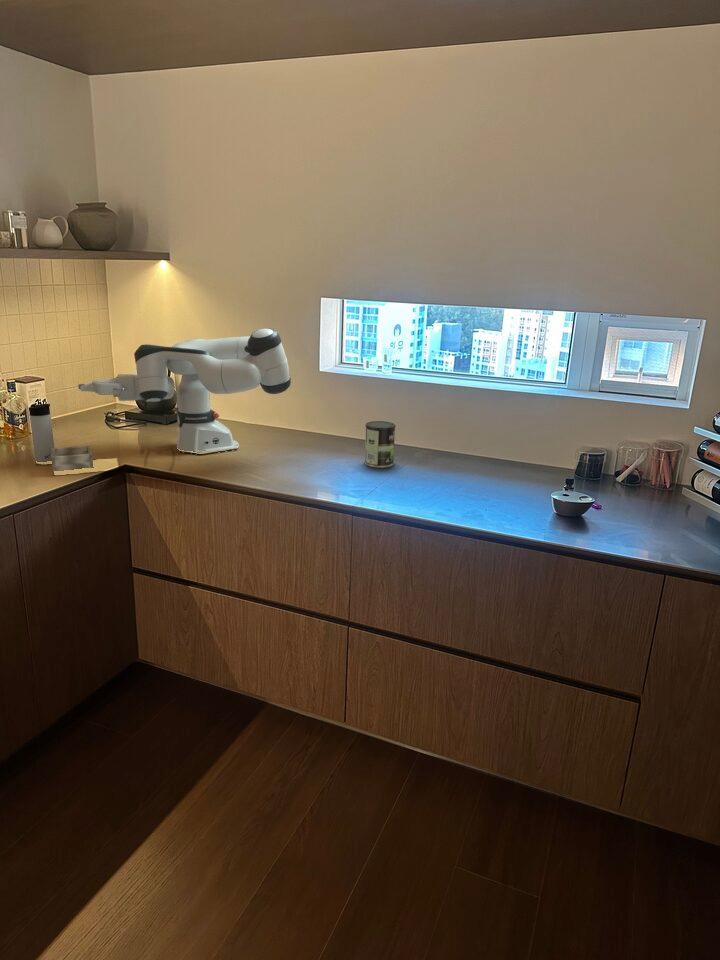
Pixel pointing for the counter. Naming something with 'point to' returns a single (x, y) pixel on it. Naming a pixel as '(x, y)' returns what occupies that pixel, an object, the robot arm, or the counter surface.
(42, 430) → the travel mug
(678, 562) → the counter surface
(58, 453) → the mug caddy
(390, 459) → the coffee can
